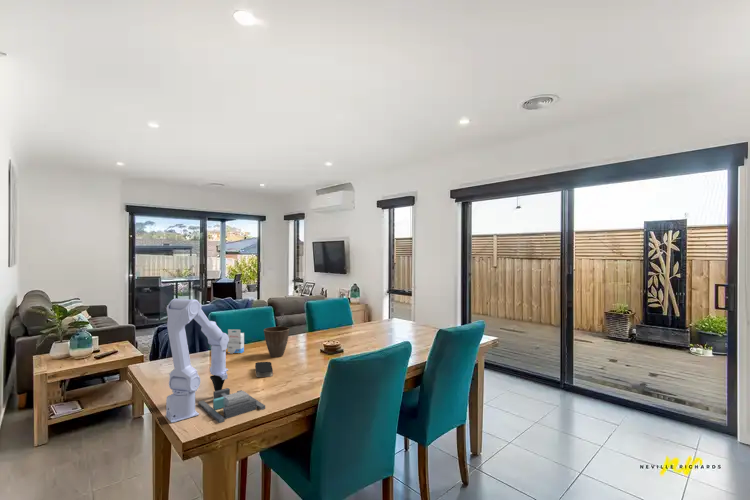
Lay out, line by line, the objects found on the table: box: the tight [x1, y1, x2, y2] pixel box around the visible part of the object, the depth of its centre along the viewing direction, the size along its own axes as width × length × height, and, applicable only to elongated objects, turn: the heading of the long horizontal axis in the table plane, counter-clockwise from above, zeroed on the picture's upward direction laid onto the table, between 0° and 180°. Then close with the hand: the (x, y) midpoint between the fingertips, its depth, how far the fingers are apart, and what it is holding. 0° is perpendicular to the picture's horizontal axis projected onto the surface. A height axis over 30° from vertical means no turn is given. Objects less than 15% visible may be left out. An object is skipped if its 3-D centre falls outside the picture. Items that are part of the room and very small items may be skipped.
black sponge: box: [254, 361, 274, 378], centre depth 186 cm, size 16×8×4 cm, turn 20°
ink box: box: [227, 328, 245, 354], centre depth 223 cm, size 8×5×15 cm, turn 85°
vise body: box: [197, 389, 266, 424], centre depth 145 cm, size 18×22×4 cm
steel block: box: [222, 390, 250, 411], centre depth 141 cm, size 8×5×6 cm, turn 134°
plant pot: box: [263, 326, 290, 358], centre depth 217 cm, size 15×15×16 cm
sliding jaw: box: [212, 387, 231, 411], centre depth 149 cm, size 12×10×4 cm
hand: (218, 392), depth 154 cm, fingers closed
